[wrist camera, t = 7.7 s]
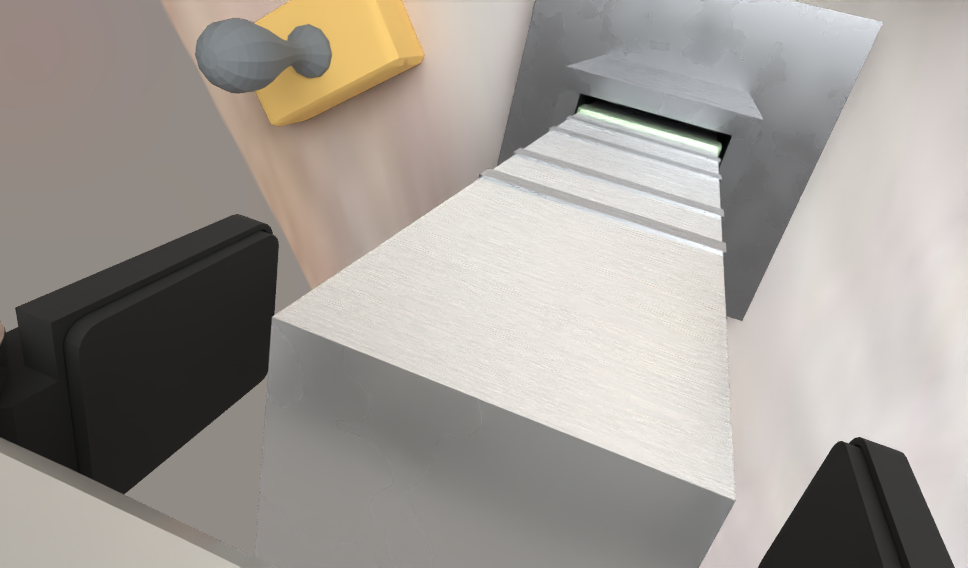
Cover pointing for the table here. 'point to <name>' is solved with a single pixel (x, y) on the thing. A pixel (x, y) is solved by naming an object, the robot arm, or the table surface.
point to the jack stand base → (704, 95)
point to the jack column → (517, 370)
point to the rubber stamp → (309, 54)
